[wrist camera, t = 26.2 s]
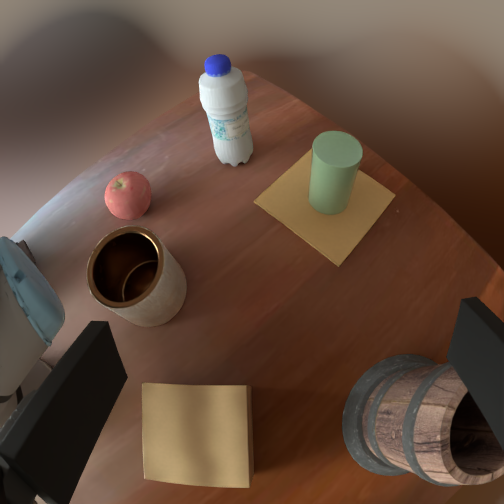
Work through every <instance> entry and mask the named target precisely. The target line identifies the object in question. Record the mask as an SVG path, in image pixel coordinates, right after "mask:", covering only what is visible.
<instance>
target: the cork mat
mask: <svg viewBox="0 0 504 504" xmlns="http://www.w3.org/2000/svg"><path fill="white" fill-rule="evenodd" d="M311 158H312V149H311V150H310V151H309V152H307V153H306V154H305V155H304V156H303V157H302V158H301V159H299V160H298V161H297V162H296V163H295V164H294V165H293V166H292V167H291V168H289V169H288V170H287V171H286V172H285V173H284V174H283V175H282V176H281V177H279V178H278V179H277V180H276V181H275V182H274V183H273V184H272V185H271V186H270V187H268V188H267V189H266V190H265V191H264V192H263V193H262V194H261V195H260V196H259V197H257V198H256V199H255V200H254V203H255V204H257V205H258V206H260V207H261V208H262V209H264V210H265V211H266V212H268V213H269V214H270V215H272V216H273V217H274V218H276V219H277V220H278V221H280V222H281V223H282V224H284V225H285V226H286V227H287V228H289V229H290V230H291V231H293V232H294V233H295V234H297V235H298V236H299V237H301V238H302V239H303V240H305V241H306V242H307V243H308V244H310V245H311V246H312V247H314V248H315V249H316V250H317V251H319V252H320V253H321V254H323V255H324V256H325V257H326V258H328V259H329V260H330V261H332V262H333V263H334V264H335V265H337V266H338V267H339V266H340V265H341V264H342V262H343V261H344V260H345V259H346V258H347V257H348V255H349V254H350V253H351V252H352V250H353V249H354V248H355V247H356V246H357V244H358V243H359V242H360V241H361V239H362V238H363V237H364V236H365V234H366V233H367V232H368V231H369V229H370V228H371V227H372V226H373V224H374V223H375V222H376V221H377V219H378V218H379V217H380V216H381V214H382V213H383V212H384V210H385V209H386V208H387V207H388V205H389V204H390V203H391V201H392V200H393V199H394V197H395V196H396V195H395V194H394V193H392V192H391V191H389V190H388V189H387V188H385V187H384V186H382V185H381V184H379V183H378V182H377V181H375V180H374V179H372V178H371V177H369V176H368V175H366V174H365V173H363V172H362V171H360V170H358V173H357V177H356V180H355V184H354V187H353V190H352V194H351V197H350V200H349V203H348V206H347V208H346V209H345V210H344V211H342V212H341V213H339V214H335V215H326V214H322V213H320V212H318V211H316V210H315V209H314V208H313V207H312V206H311V205H310V203H309V201H308V188H309V178H310V168H311Z"/></svg>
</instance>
